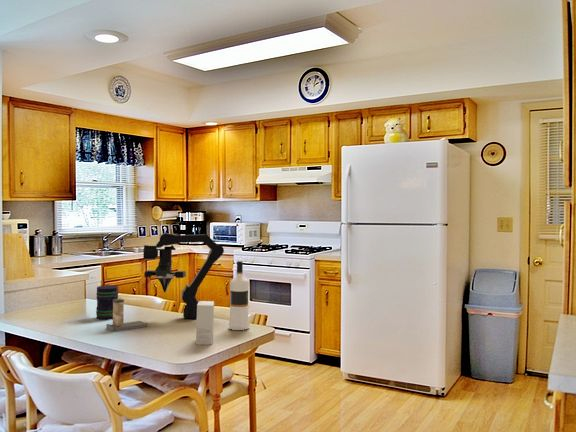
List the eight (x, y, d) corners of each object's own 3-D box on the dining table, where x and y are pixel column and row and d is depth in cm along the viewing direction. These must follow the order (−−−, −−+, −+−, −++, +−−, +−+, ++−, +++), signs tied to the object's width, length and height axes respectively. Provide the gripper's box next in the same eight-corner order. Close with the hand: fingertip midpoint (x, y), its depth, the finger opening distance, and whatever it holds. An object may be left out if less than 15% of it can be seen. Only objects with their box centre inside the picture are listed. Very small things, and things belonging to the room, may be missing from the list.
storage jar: (122, 317, 238) (122, 286, 238) (107, 320, 229) (107, 288, 229) (107, 315, 242) (107, 284, 243) (91, 318, 234) (91, 287, 234)
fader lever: (119, 323, 216) (119, 298, 216) (123, 325, 213) (124, 299, 213) (112, 324, 214) (112, 299, 214) (116, 326, 211) (116, 300, 211)
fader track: (139, 323, 224) (139, 319, 224) (146, 326, 219) (147, 322, 219) (106, 328, 213) (106, 324, 213) (112, 331, 208) (113, 327, 208)
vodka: (225, 327, 219) (226, 260, 219) (245, 325, 223) (245, 259, 223) (232, 332, 211) (233, 262, 211) (252, 330, 215) (253, 261, 215)
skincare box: (197, 339, 198) (198, 300, 198) (214, 339, 198) (214, 300, 198) (195, 345, 189) (196, 304, 189) (212, 344, 190) (213, 304, 190)
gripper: (140, 260, 227) (139, 294, 227) (180, 261, 226) (179, 295, 226) (148, 258, 238) (147, 290, 238) (186, 259, 237) (185, 291, 237)
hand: (165, 292), depth 235 cm, fingers closed
